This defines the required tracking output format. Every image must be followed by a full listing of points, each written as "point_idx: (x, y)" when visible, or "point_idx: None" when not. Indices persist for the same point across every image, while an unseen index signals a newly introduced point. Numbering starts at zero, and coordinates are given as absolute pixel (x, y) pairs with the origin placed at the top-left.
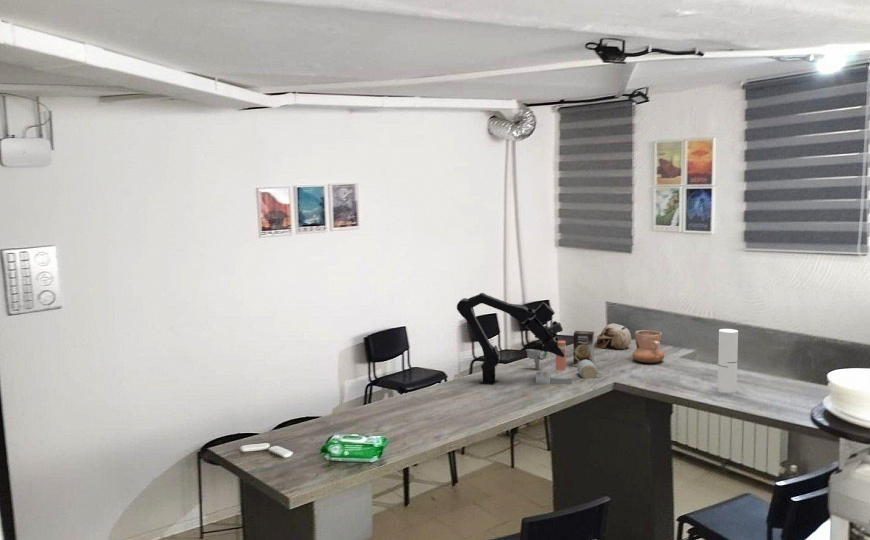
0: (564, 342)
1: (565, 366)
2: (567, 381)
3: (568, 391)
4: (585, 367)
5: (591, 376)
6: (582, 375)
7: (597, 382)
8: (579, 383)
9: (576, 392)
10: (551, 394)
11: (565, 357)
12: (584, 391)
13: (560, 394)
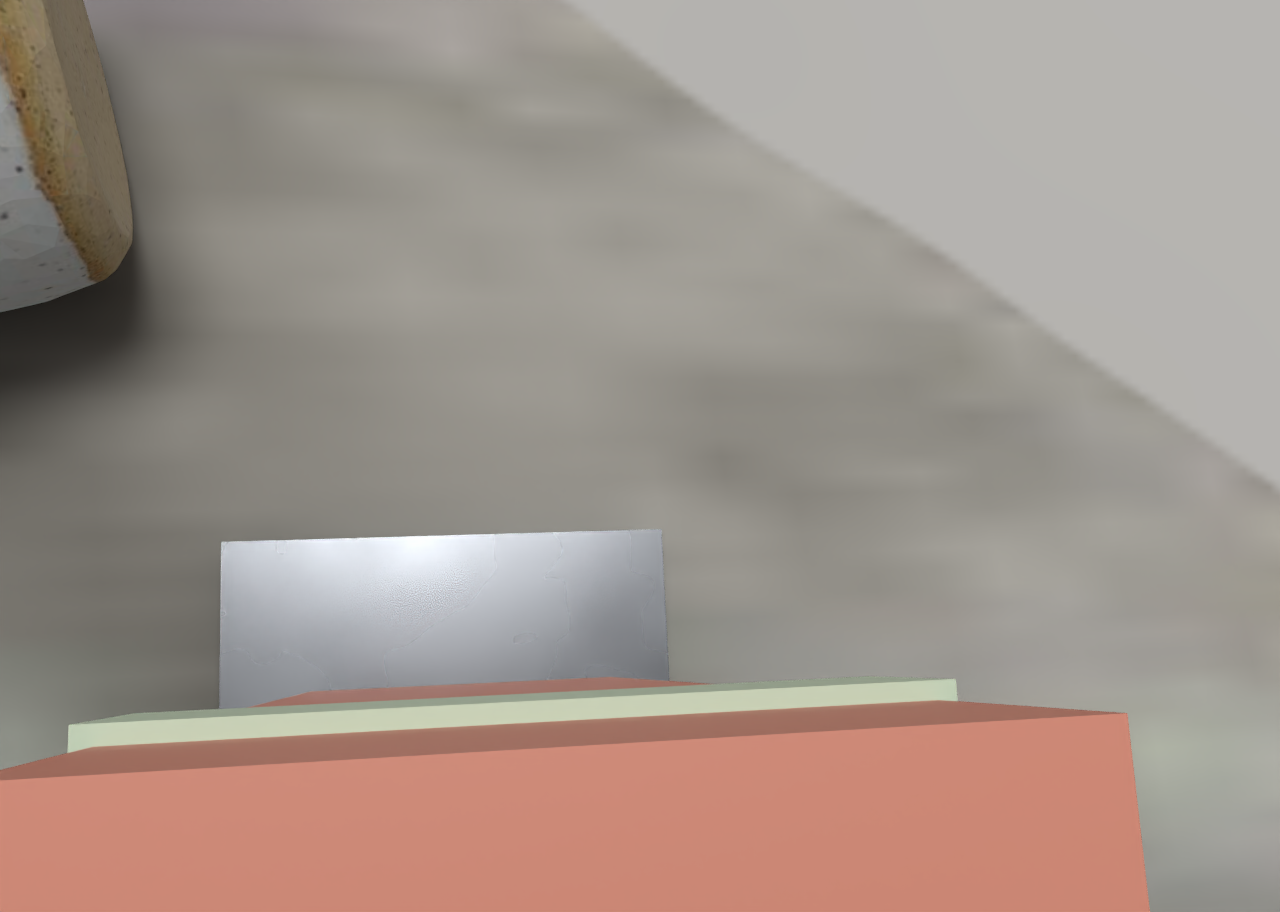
0: (965, 831)
1: (319, 692)
2: (453, 629)
3: (955, 583)
4: (49, 96)
5: (90, 70)
6: (118, 266)
7: (238, 10)
8: (356, 374)
9: (987, 430)
10: (1203, 901)
11: (316, 700)
12: (899, 285)
13: (1165, 725)
